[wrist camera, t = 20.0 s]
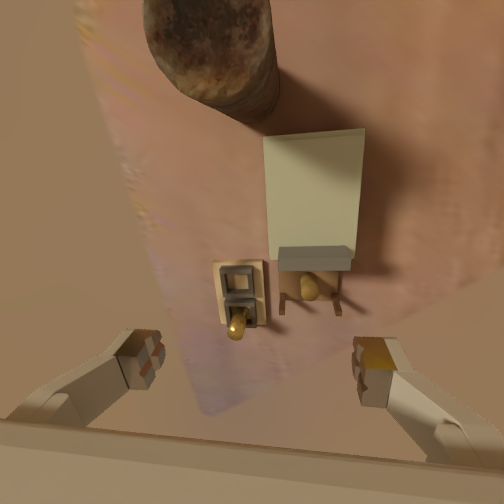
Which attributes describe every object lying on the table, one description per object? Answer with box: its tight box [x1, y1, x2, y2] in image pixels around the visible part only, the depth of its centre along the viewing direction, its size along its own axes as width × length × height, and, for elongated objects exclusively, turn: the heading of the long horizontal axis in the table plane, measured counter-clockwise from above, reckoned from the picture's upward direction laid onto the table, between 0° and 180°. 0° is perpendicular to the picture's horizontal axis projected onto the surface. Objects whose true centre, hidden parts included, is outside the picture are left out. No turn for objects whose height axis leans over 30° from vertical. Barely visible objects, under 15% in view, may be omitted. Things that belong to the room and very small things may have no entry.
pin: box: [227, 306, 249, 341], centre depth 41 cm, size 2×2×6 cm
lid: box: [263, 128, 365, 271], centre depth 31 cm, size 11×15×9 cm
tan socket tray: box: [212, 259, 267, 328], centre depth 43 cm, size 8×12×2 cm, turn 4°
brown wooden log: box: [142, 0, 280, 123], centre depth 23 cm, size 8×7×20 cm
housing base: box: [279, 271, 342, 316], centre depth 37 cm, size 9×14×6 cm, turn 4°
